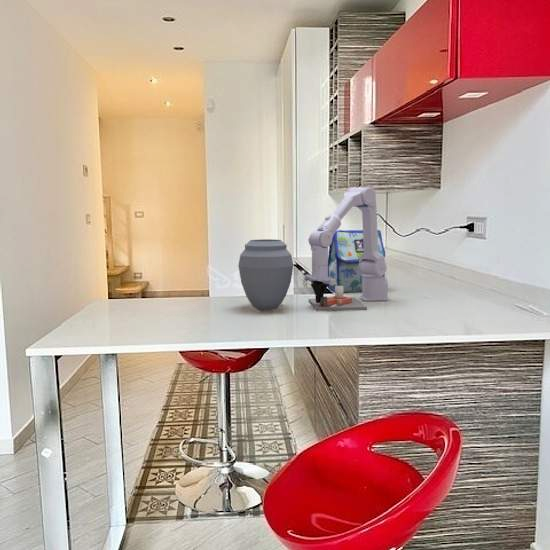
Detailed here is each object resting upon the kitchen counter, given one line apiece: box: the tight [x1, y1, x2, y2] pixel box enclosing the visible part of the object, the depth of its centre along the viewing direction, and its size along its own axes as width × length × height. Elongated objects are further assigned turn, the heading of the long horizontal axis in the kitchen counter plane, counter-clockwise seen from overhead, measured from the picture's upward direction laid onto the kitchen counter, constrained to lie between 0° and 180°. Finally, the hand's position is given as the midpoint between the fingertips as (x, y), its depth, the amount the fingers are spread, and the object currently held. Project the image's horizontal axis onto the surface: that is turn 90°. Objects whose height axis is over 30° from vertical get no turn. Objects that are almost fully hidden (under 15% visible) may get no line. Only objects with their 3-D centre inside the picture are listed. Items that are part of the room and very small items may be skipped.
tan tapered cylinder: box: [337, 300, 342, 306], centre depth 190 cm, size 2×2×2 cm
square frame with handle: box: [320, 295, 353, 306], centre depth 193 cm, size 14×7×3 cm, turn 136°
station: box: [308, 286, 368, 312], centre depth 196 cm, size 18×19×7 cm
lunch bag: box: [327, 229, 386, 293], centre depth 229 cm, size 22×17×26 cm
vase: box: [238, 239, 294, 311], centre depth 190 cm, size 20×20×24 cm
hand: (319, 302), depth 191 cm, fingers closed, pressing on square frame with handle
